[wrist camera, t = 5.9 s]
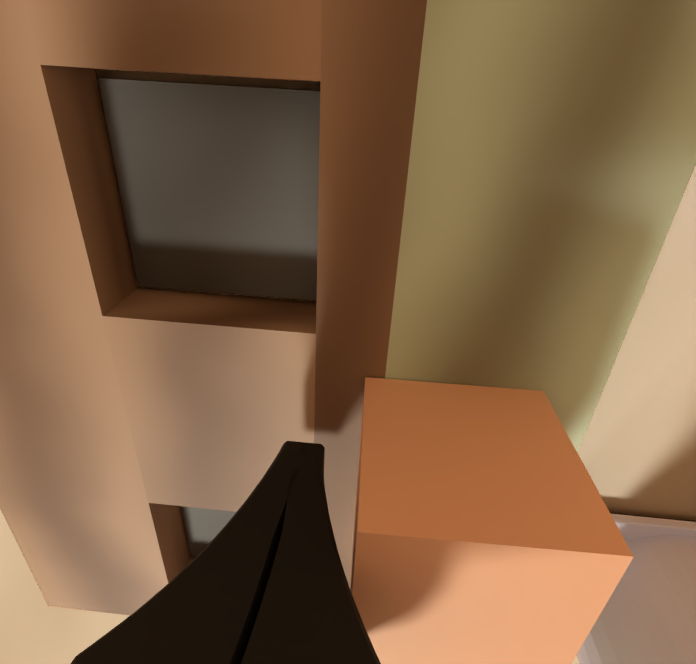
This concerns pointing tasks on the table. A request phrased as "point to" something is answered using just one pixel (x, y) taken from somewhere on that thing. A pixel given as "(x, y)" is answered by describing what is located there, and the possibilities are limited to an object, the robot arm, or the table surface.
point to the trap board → (304, 243)
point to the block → (476, 528)
